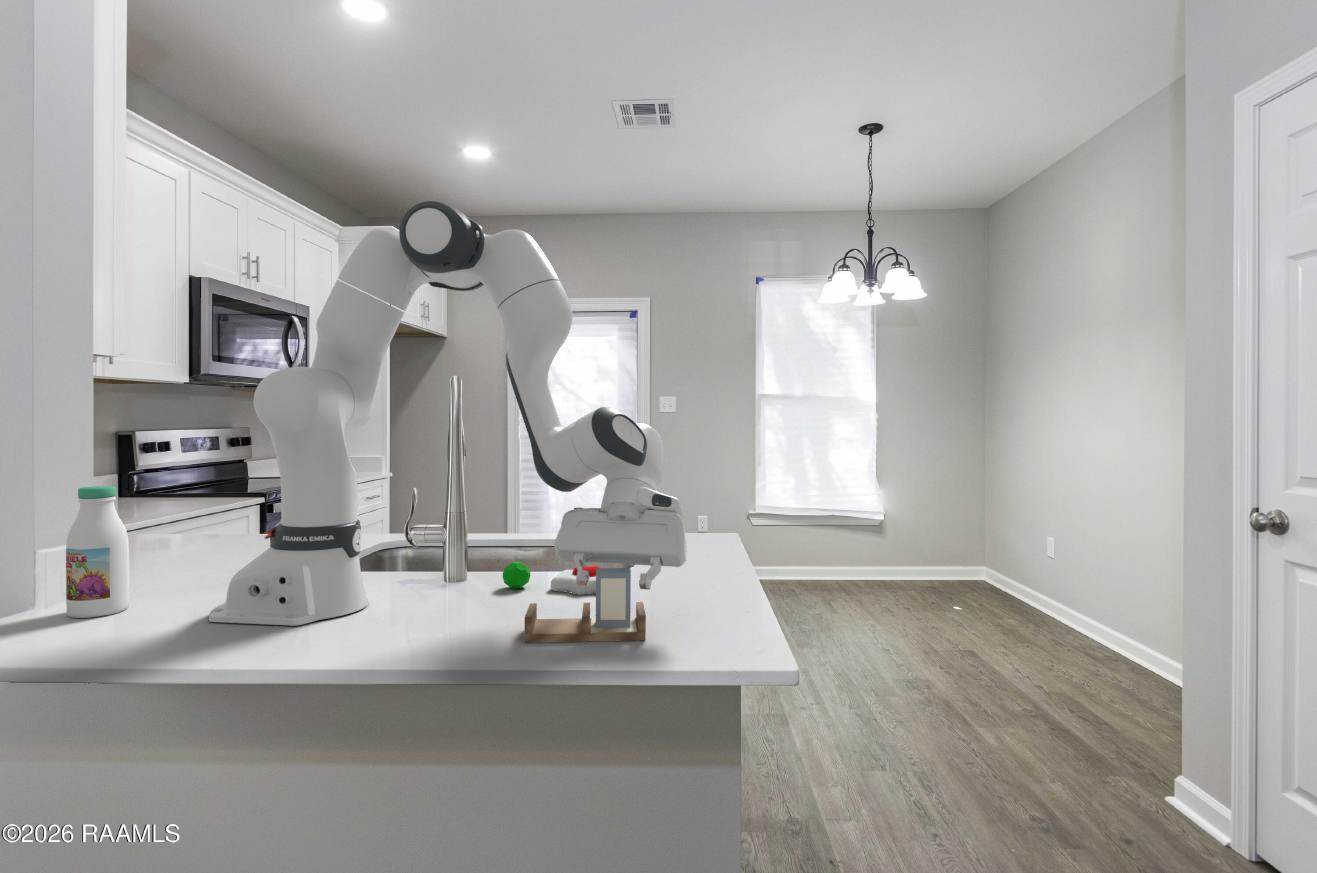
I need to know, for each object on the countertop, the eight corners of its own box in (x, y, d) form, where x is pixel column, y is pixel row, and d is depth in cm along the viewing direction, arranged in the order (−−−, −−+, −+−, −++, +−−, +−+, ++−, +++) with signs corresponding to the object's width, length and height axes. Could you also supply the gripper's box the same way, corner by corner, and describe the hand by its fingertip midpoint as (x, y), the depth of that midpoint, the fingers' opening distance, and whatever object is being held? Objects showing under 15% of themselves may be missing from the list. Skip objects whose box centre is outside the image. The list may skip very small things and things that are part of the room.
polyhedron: (524, 592, 121) (524, 565, 120) (498, 591, 121) (498, 564, 121) (533, 585, 126) (533, 560, 125) (508, 584, 126) (508, 559, 126)
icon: (545, 572, 119) (562, 560, 129) (545, 596, 119) (562, 582, 129) (612, 575, 117) (624, 563, 127) (612, 599, 117) (624, 585, 127)
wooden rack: (524, 642, 93) (524, 617, 93) (529, 627, 100) (530, 603, 100) (645, 640, 95) (645, 615, 95) (642, 625, 102) (642, 601, 102)
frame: (595, 628, 96) (595, 573, 96) (596, 621, 99) (596, 568, 99) (630, 628, 96) (630, 573, 96) (630, 621, 100) (630, 568, 99)
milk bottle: (104, 603, 111) (102, 483, 110) (142, 607, 109) (140, 485, 109) (53, 617, 103) (51, 488, 103) (93, 621, 102) (91, 490, 101)
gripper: (561, 495, 106) (539, 570, 97) (688, 499, 103) (678, 577, 93) (570, 519, 111) (549, 592, 101) (692, 524, 107) (683, 600, 98)
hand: (612, 585), depth 97 cm, fingers open, 8 cm apart
